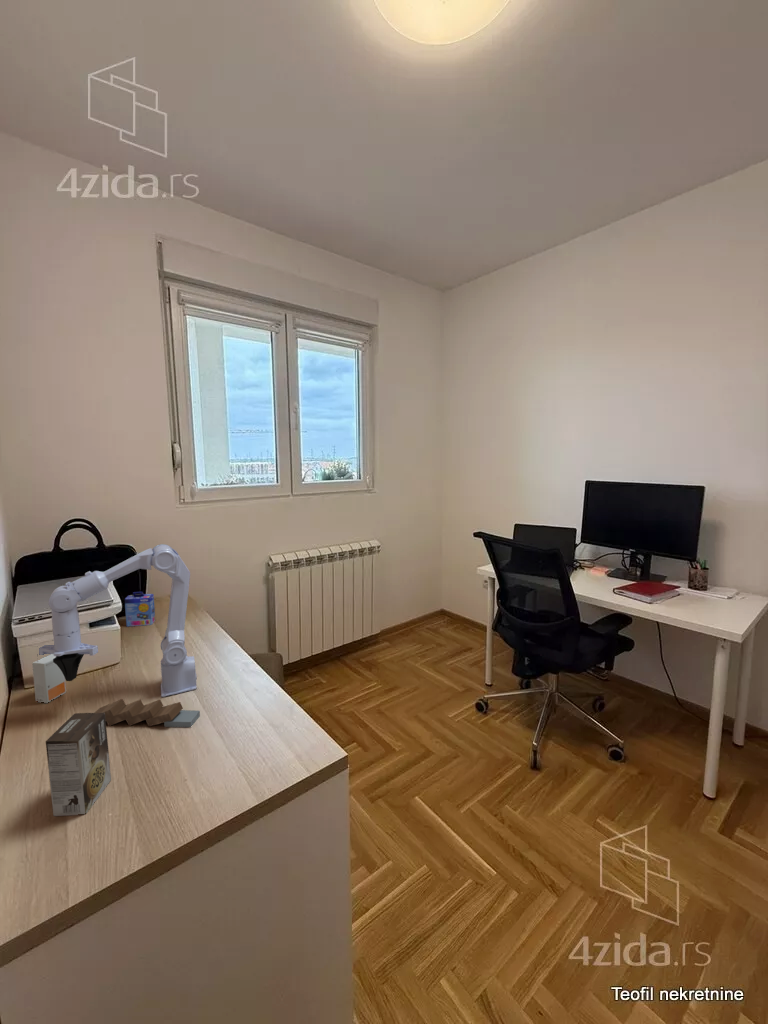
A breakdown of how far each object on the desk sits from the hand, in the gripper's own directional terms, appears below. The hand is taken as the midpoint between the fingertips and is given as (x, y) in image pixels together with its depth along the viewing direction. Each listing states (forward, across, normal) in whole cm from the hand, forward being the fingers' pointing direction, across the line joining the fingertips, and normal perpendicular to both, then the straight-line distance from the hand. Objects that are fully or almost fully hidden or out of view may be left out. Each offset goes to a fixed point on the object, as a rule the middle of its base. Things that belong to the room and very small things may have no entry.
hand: (71, 679), depth 113 cm
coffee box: (+10, +23, -28) cm, 38 cm away
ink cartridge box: (+10, -19, +63) cm, 67 cm away
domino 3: (+9, +18, -2) cm, 20 cm away
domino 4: (+9, +23, -2) cm, 25 cm away
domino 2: (+9, +12, -2) cm, 16 cm away
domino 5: (+10, +28, -3) cm, 29 cm away
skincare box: (+10, -13, +8) cm, 18 cm away
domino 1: (+9, +7, -2) cm, 12 cm away
